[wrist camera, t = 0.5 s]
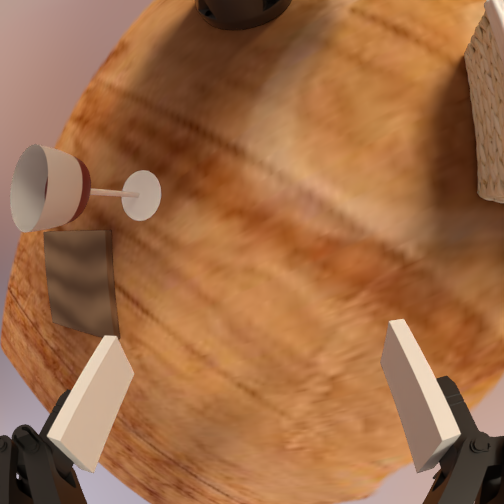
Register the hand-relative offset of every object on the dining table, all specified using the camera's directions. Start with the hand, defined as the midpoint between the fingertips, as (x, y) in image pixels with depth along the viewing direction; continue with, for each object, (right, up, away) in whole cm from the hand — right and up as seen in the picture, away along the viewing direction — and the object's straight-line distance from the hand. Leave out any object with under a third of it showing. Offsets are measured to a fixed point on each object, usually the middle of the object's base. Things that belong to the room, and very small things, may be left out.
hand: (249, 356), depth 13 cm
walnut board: (-31, 0, +34) cm, 46 cm away
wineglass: (-16, +13, +28) cm, 35 cm away
